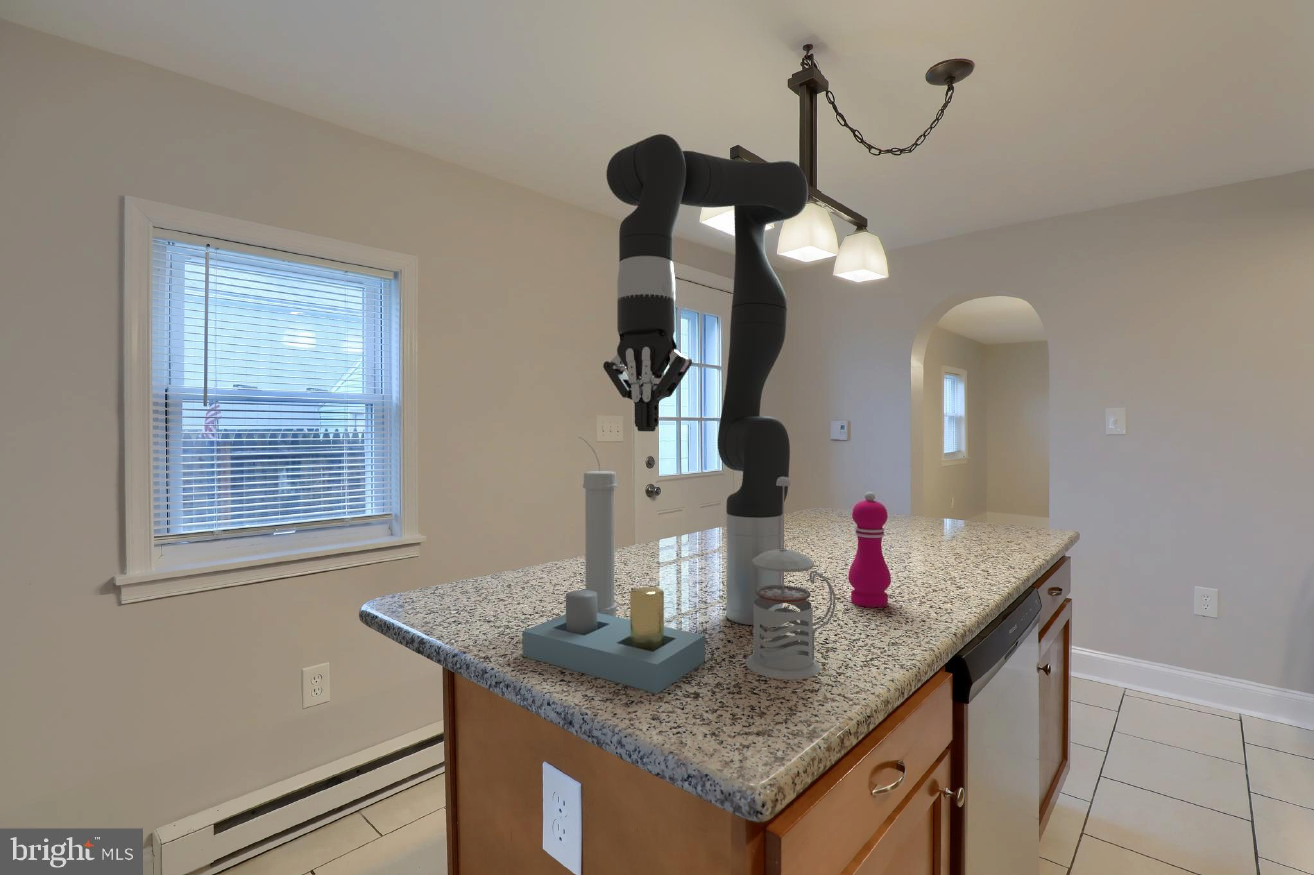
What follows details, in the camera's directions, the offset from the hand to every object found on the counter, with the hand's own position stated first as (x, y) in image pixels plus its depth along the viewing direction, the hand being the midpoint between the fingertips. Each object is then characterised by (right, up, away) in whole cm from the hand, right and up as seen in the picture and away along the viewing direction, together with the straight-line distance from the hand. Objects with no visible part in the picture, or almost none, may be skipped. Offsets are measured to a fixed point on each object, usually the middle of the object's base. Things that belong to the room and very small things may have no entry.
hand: (646, 431), depth 79 cm
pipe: (-8, -31, +20) cm, 38 cm away
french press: (+19, -31, +1) cm, 37 cm away
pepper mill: (+39, -31, +30) cm, 58 cm away
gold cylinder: (0, -31, 0) cm, 31 cm away
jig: (-5, -31, +3) cm, 31 cm away
